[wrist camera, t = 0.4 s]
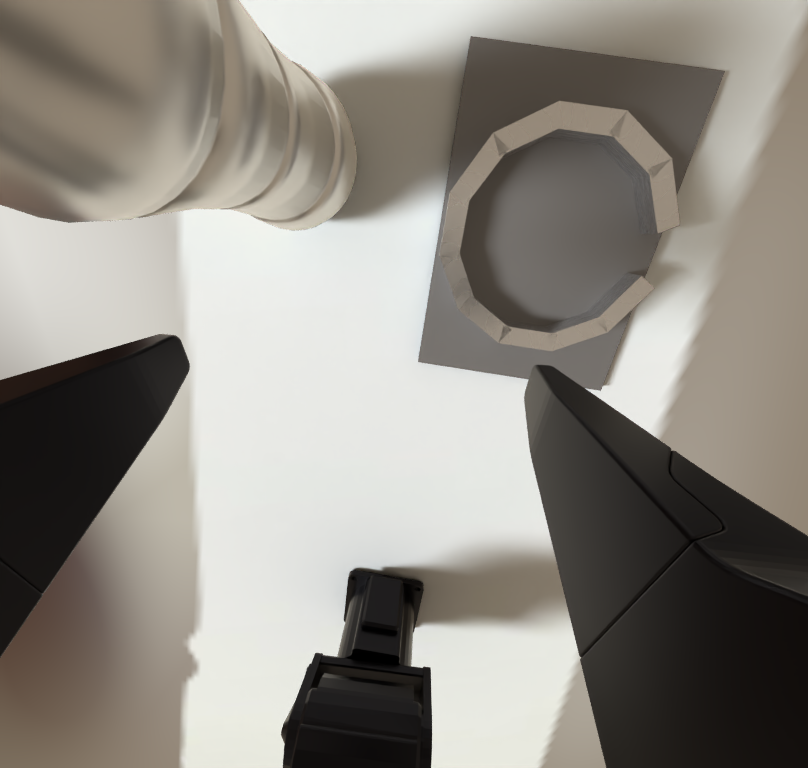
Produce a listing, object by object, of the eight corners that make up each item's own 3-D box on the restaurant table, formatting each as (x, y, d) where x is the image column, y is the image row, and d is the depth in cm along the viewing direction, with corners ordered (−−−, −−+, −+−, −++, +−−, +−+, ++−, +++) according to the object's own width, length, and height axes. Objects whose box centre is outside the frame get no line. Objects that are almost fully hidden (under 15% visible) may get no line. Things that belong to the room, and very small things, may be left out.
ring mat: (596, 386, 23) (600, 390, 22) (418, 358, 23) (418, 361, 23) (715, 76, 17) (724, 71, 16) (469, 42, 17) (470, 36, 16)
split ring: (611, 354, 21) (624, 362, 20) (427, 325, 22) (426, 331, 20) (696, 133, 17) (720, 123, 16) (464, 100, 17) (467, 88, 16)
